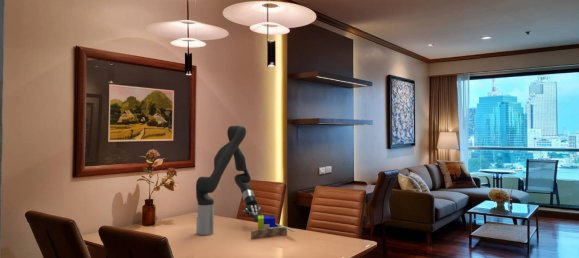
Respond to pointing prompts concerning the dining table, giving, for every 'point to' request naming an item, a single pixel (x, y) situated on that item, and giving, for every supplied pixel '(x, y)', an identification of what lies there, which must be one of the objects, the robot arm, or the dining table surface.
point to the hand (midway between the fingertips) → (257, 221)
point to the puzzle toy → (266, 221)
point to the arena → (270, 232)
